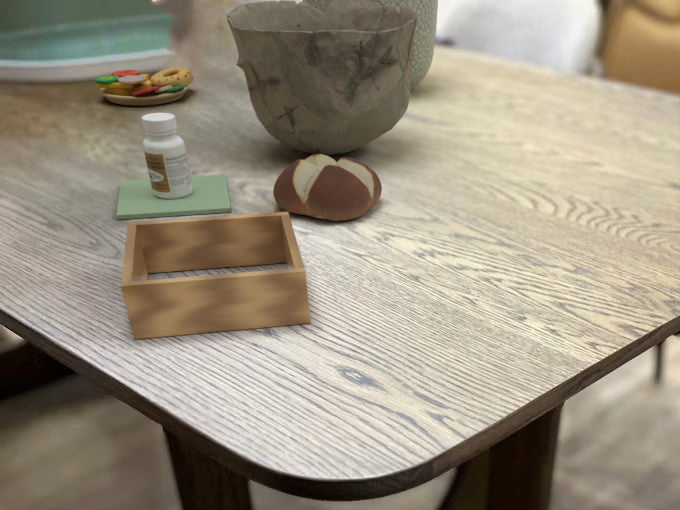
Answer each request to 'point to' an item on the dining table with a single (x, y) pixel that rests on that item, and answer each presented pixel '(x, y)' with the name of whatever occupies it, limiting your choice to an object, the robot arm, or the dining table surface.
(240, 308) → the compartment
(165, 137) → the pill bottle
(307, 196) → the bread
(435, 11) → the planter
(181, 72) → the toy food set
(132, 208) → the mat
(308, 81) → the bowl
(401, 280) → the dining table surface
